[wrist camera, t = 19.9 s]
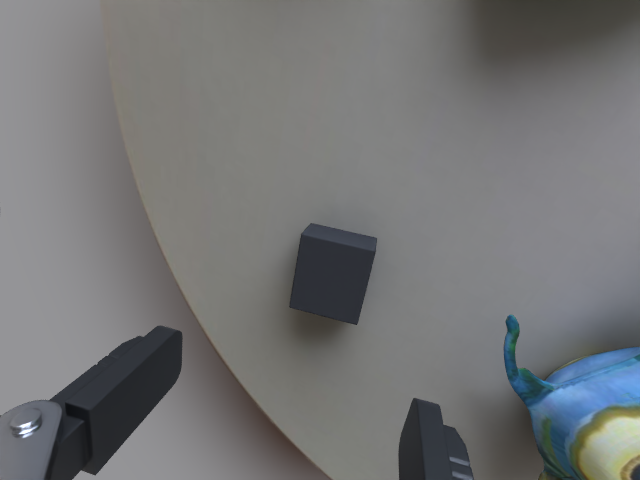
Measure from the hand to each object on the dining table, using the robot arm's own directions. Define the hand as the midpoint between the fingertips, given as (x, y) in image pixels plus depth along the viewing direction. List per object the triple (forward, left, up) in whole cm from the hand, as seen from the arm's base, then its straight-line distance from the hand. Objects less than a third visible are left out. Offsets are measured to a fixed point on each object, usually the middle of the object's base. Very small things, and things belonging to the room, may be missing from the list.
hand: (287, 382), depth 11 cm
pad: (0, 0, -12) cm, 12 cm away
